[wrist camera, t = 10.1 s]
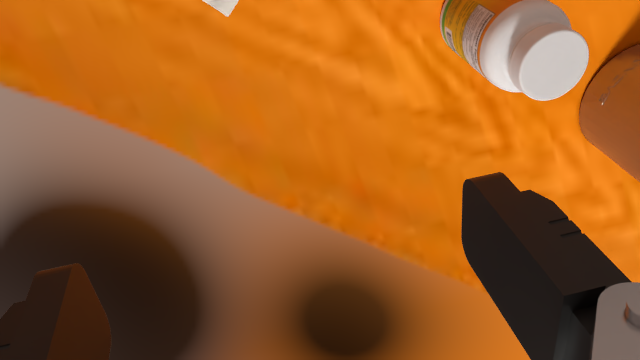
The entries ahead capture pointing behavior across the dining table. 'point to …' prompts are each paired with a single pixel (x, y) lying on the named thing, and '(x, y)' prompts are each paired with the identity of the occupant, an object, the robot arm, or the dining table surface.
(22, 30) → the dining table surface
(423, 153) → the dining table surface
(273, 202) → the dining table surface
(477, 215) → the robot arm
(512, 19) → the supplement bottle
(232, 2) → the corner arena
